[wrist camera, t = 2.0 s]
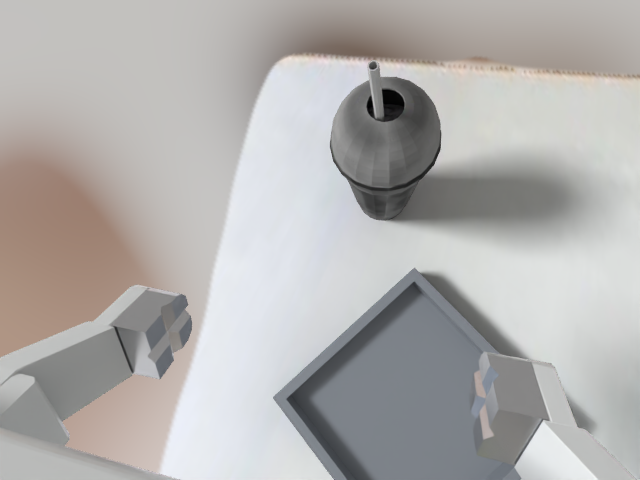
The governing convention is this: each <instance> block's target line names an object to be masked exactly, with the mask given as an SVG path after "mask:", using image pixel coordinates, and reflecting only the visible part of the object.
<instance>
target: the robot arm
mask: <svg viewBox="0 0 640 480" xmlns="http://www.w3.org/2000/svg"><path fill="white" fill-rule="evenodd" d="M187 306H188V303H187V299H186V296H184V295H182V294H178V293H174V292H169V291H165V290H160V289H156V288H150V287H145V286H140V285H135V286H131V287H130V288H129V289H128V290H127V291H126V292H125V293H123V294H122V295H121V296H120V297H119V298H118V299H117V300H116V301H115V302H114V303H113V304H112V305H111V306H109V307H108V308H107V309H106V310H105V311H104V312H103V313H102V314H101V315H100V316H99V317H98V318H97V319H95V320H94V321H93V322H88V321H87V322H85V323H82V324H80V325H78V326H75V327H73V328H70V329H68V330H66V331H63V332H61V333H58V334H56V335H54V336H51V337H49V338H46V339H44V340H41V341H39V342H36V343H34V344H32V345H29V346H27V347H24V348H22V349H20V350H17V351H15V352H12V353H10V354H8V355H5V356H2V357H0V480H179V479H176V478H172V477H169V476H166V475H162V474H159V473H155V472H152V471H148V470H145V469H142V468H138V467H134V466H131V465H128V464H124V463H121V462H118V461H114V460H111V459H107V458H104V457H100V456H97V455H94V454H90V453H87V452H83V451H80V450H76V449H73V448H70V447H66V446H65V444H66V443H67V442H68V441H69V433H68V431H67V429H66V428H65V426H64V425H63V423H62V421H63V420H65V419H67V418H68V417H69V416H71V415H72V414H74V413H76V412H77V411H79V410H80V409H82V408H83V407H85V406H86V405H88V404H89V403H91V402H92V401H94V400H95V399H97V398H98V397H100V396H101V395H103V394H105V393H106V392H108V391H109V390H111V389H112V388H114V387H115V386H117V385H118V384H120V383H121V382H123V381H124V380H126V379H127V378H129V377H131V376H132V374H137V375H142V376H146V377H152V378H156V379H161V377H162V376H163V374H164V373H165V372H166V370H167V369H168V367H169V366H170V365H171V363H172V362H173V361H174V356H173V353H174V352H176V351H178V350H180V349H181V348H183V346H184V345H185V343H186V342H187V341H188V338H189V336H190V333H191V330H192V321H191V316H190V315H189V314H188V313H187V312H186V310H185V308H186V307H187ZM479 368H480V370H479V371H477V372H476V373H474V375H473V378H472V380H471V385H470V392H469V402H470V411H471V412H472V414H473V415H474V416H475V418H476V421H475V424H474V426H473V435H474V442H475V450H476V455H477V456H481V457H485V458H488V459H492V460H496V461H500V462H503V463H507V464H511V465H515V467H514V468H515V469H516V471H517V472H518V474H519V475H520V477H521V478H522V480H636V479H635V478H634V477H633V476H632V475H631V474H630V473H629V472H628V471H627V470H626V469H625V468H624V467H623V466H622V465H621V464H620V463H619V462H618V461H617V460H616V459H615V458H614V457H613V456H612V455H611V454H610V453H609V452H608V451H607V450H606V449H605V448H604V447H603V446H602V445H601V444H600V443H599V442H598V441H597V440H596V439H595V438H594V437H593V436H592V435H591V434H590V433H589V432H588V431H587V430H586V429H582V428H578V426H577V423H576V421H575V418H574V416H573V413H572V411H571V408H570V405H569V403H568V400H567V398H566V395H565V392H564V390H563V387H562V385H561V382H560V380H559V377H558V374H557V372H556V369H555V367H554V366H553V365H552V364H551V363H545V362H540V361H534V360H527V359H523V358H518V357H512V356H507V355H501V354H495V353H490V352H483V354H482V355H481V357H480V359H479Z"/></svg>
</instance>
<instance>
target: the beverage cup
mask: <svg viewBox="0 0 640 480" xmlns="http://www.w3.org/2000/svg"><path fill="white" fill-rule="evenodd" d="M367 68H368V74H369V81H366V82H365V83H363V84H361V85H360V86H358V87H356V88H355V89H353V90H352V91H351V93H350V94H349V95H348V96H347V97H346V98H345V99H344V100H343V101H342V103H341V105H340V107H339V109H338V111H337V113H336V115H335V117H334V120H333V126H332V132H331V141H330V149H331V153H332V157H333V161H334V163H335V164H336V166H337V168H338V169H339V171H340V172H341V174H342V175H343V176H345V178H346V179H347V180H348V182H349V184H350V186H351V188H352V191H353V193H354V195H355V197H356V200H357V202H358V204H359V205H360V207H361V208H362V210H363V211H364V213H365V214H367V215H368V216H369V217H371V218H374V219H376V220H387V219H392V218H393V217H395V216H397V215H398V214H399V213H400V212H401V211H402V210H403V208H404V207H405V205H406V204H407V202H408V200H409V198H410V196H411V195H412V193H413V191H414V189H415V187H416V185H417V183H418V181H419V180H420V179H422V178H423V177H424V176H425V174H426V173H427V172H428V171H429V170H430V169H431V168H432V167H433V166H434V164H435V161H436V159H437V157H438V154H439V152H440V148H441V130H440V120H439V117H438V114H437V111H436V107H435V105H434V103H433V102H432V100H431V99H430V98H429V96H428V95H427V94H426V93H425V91H424V90H423V89H421V88H420V87H418V86H417V85H415V84H414V83H412V82H411V81H408V80H405V79H401V78H398V77H380V69H379V63H378V62H377V61H375V60H372V61H370V62H369V63H368V67H367Z"/></svg>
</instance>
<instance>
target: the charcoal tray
mask: <svg viewBox="0 0 640 480" xmlns="http://www.w3.org/2000/svg"><path fill="white" fill-rule="evenodd" d="M483 352H490V353H495V354H499V353H498V352H497V351H496V350H495V348H494V347H493V346H492V345H491V344H490V343H489V342H488V341H487V340H486V339H485V338H484V337H483V336H482V335H481V334H480V333H479V332H478V331H477V330H476V329H475V328H474V327H473V326H472V325H471V324H470V323H469V322H468V321H467V320H466V319H465V318H464V317H463V316H462V315H461V314H460V313H459V312H458V311H457V310H456V309H455V308H454V307H453V306H452V305H451V304H450V303H449V302H448V301H447V300H446V299H445V298H444V297H443V296H442V295H441V294H440V293H439V292H438V291H437V290H436V289H435V288H434V287H433V286H432V285H431V284H430V283H429V282H428V281H427V280H426V279H425V278H424V277H423V276H422V275H421V274H420V273H419V272H418V271H417V270H416V269H415V268H414V269H412V270H411V271H410V272H409V273H408V274H407V275H406V276H405V277H404V278H403V279H402V280H400V281H399V282H398V283H397V284H396V285H395V286H394V287H393V288H392V289H391V290H390V291H388V292H387V293H386V294H385V295H384V296H383V297H382V298H381V299H380V300H379V301H378V302H376V303H375V304H374V305H373V306H372V307H371V308H370V309H369V310H368V311H367V312H366V313H364V314H363V315H362V316H361V317H360V318H359V319H358V320H357V321H356V322H355V323H354V324H352V325H351V326H350V327H349V328H348V329H347V330H346V331H345V332H344V333H343V334H342V335H340V336H339V337H338V338H337V339H336V340H335V341H334V342H333V343H332V344H331V345H330V346H328V347H327V348H326V349H325V350H324V351H323V352H322V353H321V354H320V355H319V356H318V357H316V358H315V359H314V360H313V361H312V362H311V363H310V364H309V365H308V366H307V367H306V368H304V369H303V370H302V371H301V372H300V373H299V374H298V375H297V376H296V377H295V378H294V379H292V380H291V381H290V382H289V383H288V384H287V385H286V386H285V387H284V388H283V389H282V390H280V391H279V392H278V393H277V394H276V395H275V396H274V397H273V399H274V400H275V401H276V403H277V404H278V405H279V407H280V408H281V409H282V411H283V412H284V413H285V415H286V416H287V417H288V419H289V420H290V421H291V423H292V424H293V425H294V427H295V428H296V429H297V431H298V432H299V433H300V435H301V436H302V437H303V439H304V440H305V441H306V443H307V444H308V445H309V447H310V448H311V449H312V451H313V452H314V453H315V455H316V456H317V458H318V459H319V460H320V462H321V463H322V464H323V466H324V467H325V468H326V470H327V471H328V472H329V474H330V475H331V476H332V478H333V479H334V480H521V479H522V478H521V477H520V475H519V474H518V472H517V471H516V469H515V468H514V467H515V465H511V464H507V463H503V462H500V461H496V460H492V459H488V458H485V457H481V456H477V455H476V450H475V442H474V435H473V426H474V424H475V421H476V418H475V416H474V415H473V414H472V412H471V411H470V402H469V392H470V385H471V380H472V378H473V375H474V373H476V372H477V371H479V370H480V368H479V359H480V357H481V355H482V354H483Z"/></svg>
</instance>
